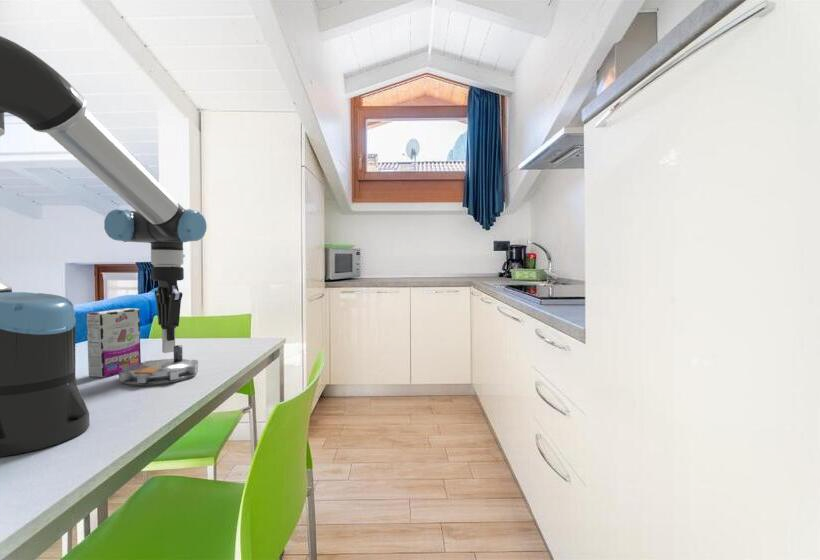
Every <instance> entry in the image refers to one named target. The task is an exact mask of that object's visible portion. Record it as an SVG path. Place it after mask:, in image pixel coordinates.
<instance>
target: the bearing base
mask: <svg viewBox="0 0 820 560" xmlns="http://www.w3.org/2000/svg"><path fill="white" fill-rule="evenodd" d="M197 374H198V372H196V373H188V374H186V375H183V376H179V379H174V380H169V379H163V380H154V381H148V382H146V383H137V381H134V380H125V381H121V383H122V385H124V386H129V387H155V386H157V387H158V386H163V385H170V384H175V383H179V382H180V383H181V382H183V381H186V380H190V379H192V378H194V377H195V376H196V375H197Z"/></svg>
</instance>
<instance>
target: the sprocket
mask: <svg viewBox="0 0 820 560" xmlns="http://www.w3.org/2000/svg"><path fill="white" fill-rule="evenodd" d="M198 360H199V359H198ZM198 360H197V359H186V358H183V345H182V344H177V345H176V344H175V346H174V352H173V358H164V359H154V360H153V359H151V360H145V361H143V362H141V363H138V364H135V365H132V366H125V367H122V372H119V374H118V380H119V381H120V382H122V381H125V380H134V381H137V383H146V382H148V381H154V380H163V379H169V380H174V379H179V376H183V375H186V374H188V373H196V372H197V373H198V372H199V361H198Z"/></svg>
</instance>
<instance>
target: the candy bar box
mask: <svg viewBox="0 0 820 560" xmlns="http://www.w3.org/2000/svg"><path fill="white" fill-rule="evenodd" d="M85 315H86V332H87V334H86V336H87V337H86V339H87V358H88V359H87V360H88V361H87V362H88V363H87V364H88V366H87V367H88V377H89V378H99V379H101V378H102V379H106V378H109V377H112V376H116V375H119V372H122V367H125V366H132V365H135V364H138V363H142V362H141V360H142V359H141V358H142V357H141V331H140V329H141V327H140V308H132V307H131V308H129V307H127V308H126V307H125V308H118V309H110V310H103V311H93V312H88V313H86V314H85Z"/></svg>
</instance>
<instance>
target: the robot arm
mask: <svg viewBox="0 0 820 560" xmlns="http://www.w3.org/2000/svg"><path fill="white" fill-rule="evenodd" d="M86 106H87V101H86V99H85V98H84V96H83V95H82V94H81V93H80V92H79V91H78V90H77V89H75V87H74V86H73V85H72V84H71V83H70V82H69V81H68V80H67V79H66V78H65V77H63V76H62V75H61V74H60V73H59V72H58V71H57V70H56V69H54V68H53V67H52V66H50V65H49V64H48V63H46V61H44V60H42V59H41V58H40V57H38V56H37V55H36V54H35V53H33V52H31V51H30V50H28V49H26V48H25V47H23V46H22V45H20V44H18V43H16V42H15V41H12V40H11V39H8V38H6V37H4V36H1V35H0V137H2V136H4V135H5V134H6V133H5V132H6V130H5V114H6V113H7V114H10V115H12V116H15V117H16V118H19V120H22V121H23V122H24V123H25V124H27V125H28V126H29V127H31V129H33V130H34V131H35V132H39V133H46V134H48V135H49V136H50V137H51V138H53V140H54V141H56V142H57V143H58V144H59V145H60V146H61V147H63V148H64V149H65V150H66V151H67V152H68V153H70V155H72V156H73V157H74V158H75V159H76V160H77V161H79V163H81V164H82V165H83V166H84V167H85V168H87V169H88V170H89V171H90V172H91V173H92V174H93V175H95V176H96V177H97V178H98V179H99V180H101V181H102V182H103V183H104V184H105V185H106V186H107V187H108V188H109V189H111V191H113V192H115V194H116V195H118V196H119V197H120V198H121V199H122V200H123V201H124V202H126V203H127V204H128V205H129V206H130V207H131V208H132V209H133V210H129V209H119V208H116V209H115V208H114V209H112V210H111V211H109V212H108V213H107V214H106V216H105V218H104V221H103V223H104V224H103V225H104V228H103V229H104V231H105V234H106V235H107V237H109V238H110V239H112V240H113V241H119V242H123V243H125V242H126V243H127V242H131V243H149V244H150V247H151V248H150V264H151V265H153V266H152V267H151V270H150V271H151V274H150V275H151V280H152V281H156V282H158V287H157V289H156V290H154V293H153V294H154V296H155V303H156V311H157V322H158V326H160V327H161V339H162V340H161V342H162V343H161V348H162V349H161V352H162V353H163V354H168V353H174V346H176V329H177V327H179V326H180V315H181V314H180V313H181V304H182V299H183V292H182V291H181V292H180V291H179V290H180V289H179V286H178V281H183V280H184V279H185V277H184V276H185V275H184V274H185V273H184V272H185V270H184V268H183V266H182V265H184V258H185V257H186V254H184V243H188V242H189V243H190V242H197V241H200V240H202V239H203V238H204V237H205V235H206V232H207V230H208V229H207V228H208V227H207V220H206V218H205V216H204V214H202V212H200V211H198V210H194V209H191V208H188V209H185V208H184V207H183V206H182V205H180V203H179V202H178V201H177V200H176V199H175V198H174V197H173V196H172V195H171V194H170V192H168V191H167V190H166V189H165V188H164V187H163V186H162V185H161V184H160V182H159V181H157V179H155V178H154V176H152V174H151V173H149V171H148V170H146V168H145V167H144V166H143V165H142V164H141V163H140V162H139V161H138V160H137V159H136V158H135V157H134V156H133V155H132V153H130V152H129V151H128V149H126V147H124V146H123V145H122V143H121V142H119V140H118V139H116V138H115V136H113V135H112V133H111V132H110V131H109V130H107V128H106V127H105V126H104V125H103V124H102V123H101V122H100V121H99V120H98V119H97V118H96V117H95V116H94V115H93V114H92V113H91V112H90V111H89V110H88V109H87V107H86ZM12 289H13V288H12V286H11V285H9V284H7V283H6V282H5V281H3V280H2V279H1V278H0V457H1V458H2V457H6V456H14V455H19V454H25V453H29V452H33V451H38V450H42V449H46V448H49V447H51V446H55V445H58V444H61V443H64V442H67V441H68V440H71V439H73V438H75V437H77V436H79V435H81V434H82V433H84V432H85V431H87V430H88V429H89V427H90V423H91V422H90V411H89V409H88V406H87V404H86V403H85V401H84V398H83V396H82V394H81V392H80V390H79V388H78V386H77V381H76V379H77V378H76V323H77V318H76V315H75V309H74V304H73V302H72V301H71V300H70V299H69V298H67V297H65V296H62V295H57V294H51V293H44V292H43V293H41V292H36V293H35V292H26V291H25V292H24V291H23V292H21V291H20V292H19V291H15V292H14V291H12Z"/></svg>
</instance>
